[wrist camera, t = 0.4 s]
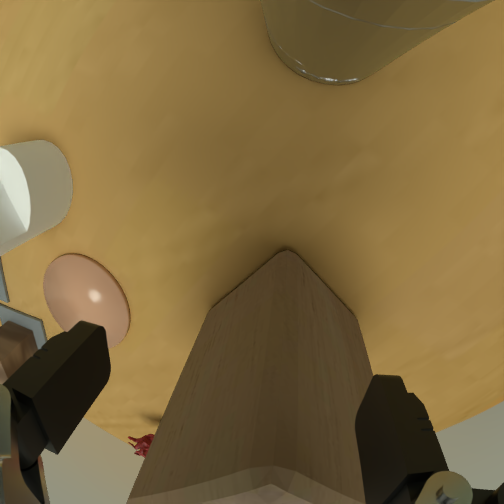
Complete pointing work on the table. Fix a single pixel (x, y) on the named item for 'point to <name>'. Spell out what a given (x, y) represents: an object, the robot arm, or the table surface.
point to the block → (265, 400)
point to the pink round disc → (86, 296)
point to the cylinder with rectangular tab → (32, 191)
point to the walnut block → (14, 348)
